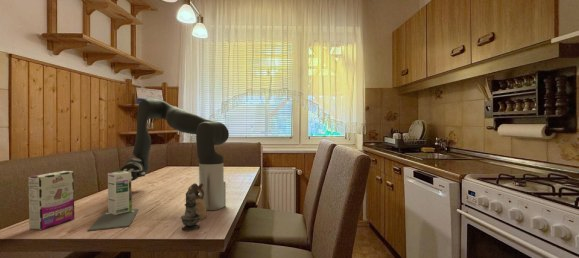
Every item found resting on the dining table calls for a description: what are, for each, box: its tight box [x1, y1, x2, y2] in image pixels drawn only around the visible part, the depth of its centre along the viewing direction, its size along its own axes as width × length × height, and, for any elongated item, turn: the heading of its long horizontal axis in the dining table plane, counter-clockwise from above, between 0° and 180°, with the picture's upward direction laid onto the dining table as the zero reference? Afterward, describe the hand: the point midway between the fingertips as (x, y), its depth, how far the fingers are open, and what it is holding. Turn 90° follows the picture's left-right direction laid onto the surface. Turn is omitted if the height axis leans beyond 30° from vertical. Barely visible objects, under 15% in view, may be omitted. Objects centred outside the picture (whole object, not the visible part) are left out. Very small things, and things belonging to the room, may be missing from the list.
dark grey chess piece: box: [180, 189, 201, 232], centre depth 90 cm, size 6×6×12 cm
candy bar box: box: [27, 170, 75, 231], centre depth 94 cm, size 11×5×16 cm, turn 168°
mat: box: [87, 208, 139, 232], centre depth 98 cm, size 20×11×1 cm, turn 20°
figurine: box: [184, 183, 207, 222], centre depth 99 cm, size 7×7×12 cm
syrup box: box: [107, 171, 133, 215], centre depth 105 cm, size 6×6×14 cm
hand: (124, 177), depth 112 cm, fingers closed
